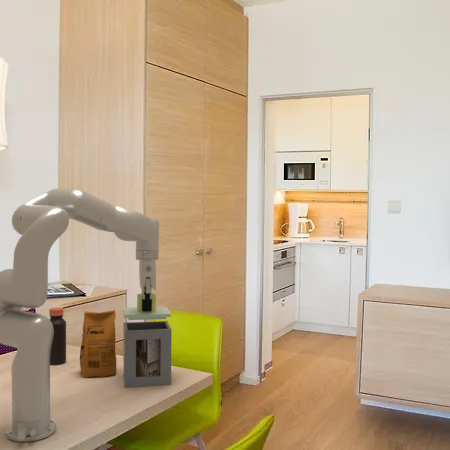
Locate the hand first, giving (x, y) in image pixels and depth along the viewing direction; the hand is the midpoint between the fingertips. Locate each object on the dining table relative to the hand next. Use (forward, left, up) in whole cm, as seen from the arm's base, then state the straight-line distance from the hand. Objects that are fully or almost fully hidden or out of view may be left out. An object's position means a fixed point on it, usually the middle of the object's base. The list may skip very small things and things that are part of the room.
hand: (146, 309), depth 188 cm
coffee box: (0, 0, -24) cm, 24 cm away
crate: (0, 0, -24) cm, 24 cm away
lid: (0, 0, -2) cm, 2 cm away
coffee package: (+10, +16, -24) cm, 31 cm away
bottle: (+25, +31, -24) cm, 47 cm away
